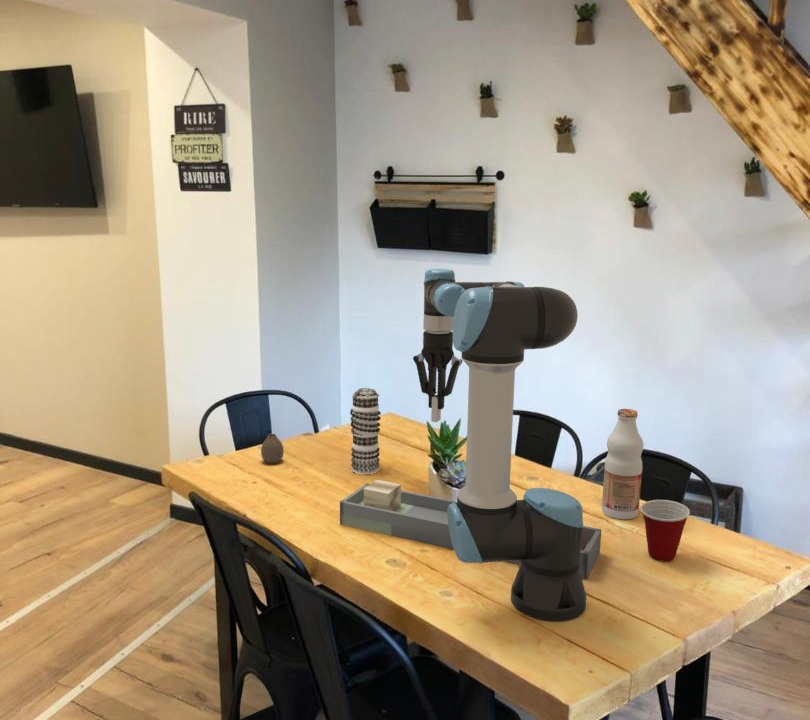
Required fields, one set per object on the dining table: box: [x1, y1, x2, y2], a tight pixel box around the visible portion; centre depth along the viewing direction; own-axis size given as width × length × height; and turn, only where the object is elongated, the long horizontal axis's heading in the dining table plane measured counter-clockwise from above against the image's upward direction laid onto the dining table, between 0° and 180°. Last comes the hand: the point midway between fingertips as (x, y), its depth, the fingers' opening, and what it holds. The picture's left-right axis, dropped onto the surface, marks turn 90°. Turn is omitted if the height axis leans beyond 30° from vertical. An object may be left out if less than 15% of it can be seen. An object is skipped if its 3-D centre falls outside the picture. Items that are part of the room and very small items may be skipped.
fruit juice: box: [601, 408, 644, 520], centre depth 195 cm, size 9×9×28 cm
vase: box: [260, 433, 285, 465], centre depth 232 cm, size 7×7×9 cm
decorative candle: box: [349, 387, 382, 475], centre depth 225 cm, size 9×9×25 cm
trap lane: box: [339, 483, 602, 580], centre depth 182 cm, size 14×62×6 cm, turn 64°
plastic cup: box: [639, 499, 691, 562], centre depth 173 cm, size 11×11×12 cm
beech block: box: [364, 479, 402, 511], centre depth 191 cm, size 7×7×6 cm
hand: (435, 420), depth 194 cm, fingers closed
